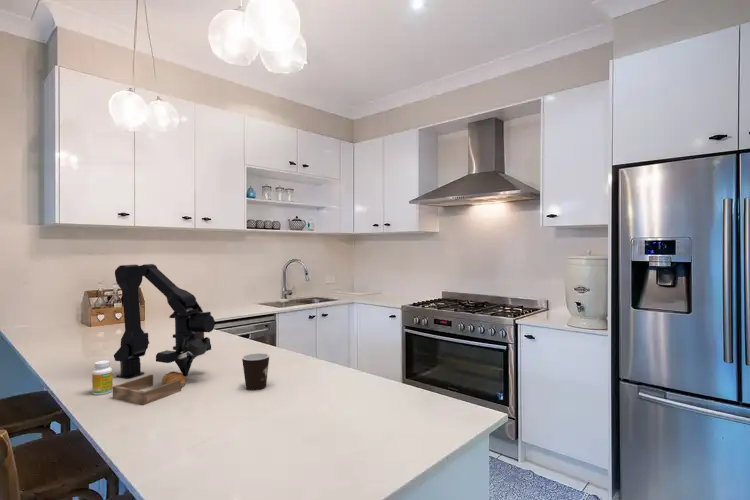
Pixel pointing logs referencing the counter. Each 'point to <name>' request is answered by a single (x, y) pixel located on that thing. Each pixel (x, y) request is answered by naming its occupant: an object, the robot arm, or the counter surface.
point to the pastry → (173, 378)
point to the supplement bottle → (102, 378)
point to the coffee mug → (255, 370)
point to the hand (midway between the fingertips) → (185, 376)
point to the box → (132, 393)
